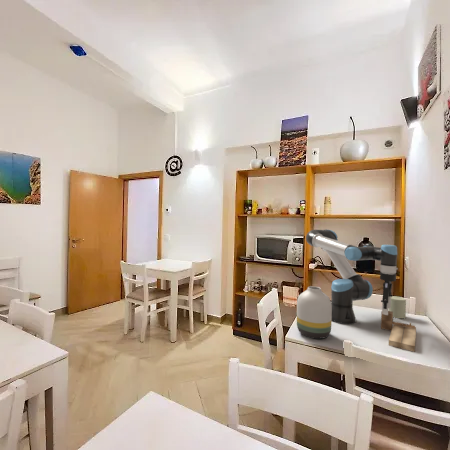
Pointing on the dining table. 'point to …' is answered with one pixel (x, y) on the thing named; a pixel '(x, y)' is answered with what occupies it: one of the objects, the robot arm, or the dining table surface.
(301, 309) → the vase
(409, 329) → the board
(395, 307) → the can
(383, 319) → the brown wooden block
